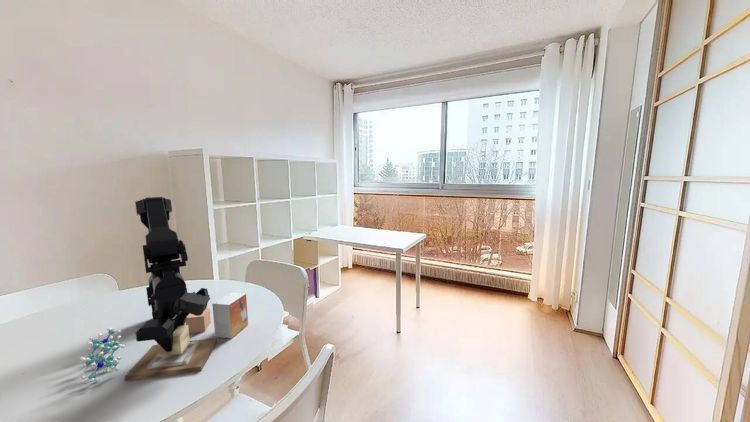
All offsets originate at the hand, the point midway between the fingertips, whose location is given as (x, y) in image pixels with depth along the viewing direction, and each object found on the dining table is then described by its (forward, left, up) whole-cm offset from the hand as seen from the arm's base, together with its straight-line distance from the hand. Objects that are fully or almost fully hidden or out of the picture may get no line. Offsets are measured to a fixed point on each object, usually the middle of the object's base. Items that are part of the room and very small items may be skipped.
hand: (174, 344), depth 72 cm
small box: (+11, +11, -4) cm, 16 cm away
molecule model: (-16, +1, -4) cm, 17 cm away
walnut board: (0, 0, -4) cm, 4 cm away
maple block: (0, 0, -1) cm, 1 cm away
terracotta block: (0, +15, -4) cm, 15 cm away
